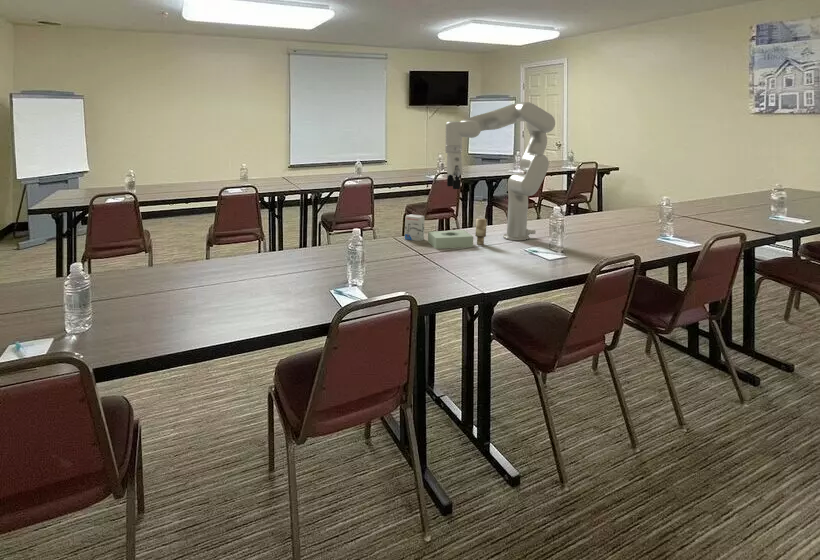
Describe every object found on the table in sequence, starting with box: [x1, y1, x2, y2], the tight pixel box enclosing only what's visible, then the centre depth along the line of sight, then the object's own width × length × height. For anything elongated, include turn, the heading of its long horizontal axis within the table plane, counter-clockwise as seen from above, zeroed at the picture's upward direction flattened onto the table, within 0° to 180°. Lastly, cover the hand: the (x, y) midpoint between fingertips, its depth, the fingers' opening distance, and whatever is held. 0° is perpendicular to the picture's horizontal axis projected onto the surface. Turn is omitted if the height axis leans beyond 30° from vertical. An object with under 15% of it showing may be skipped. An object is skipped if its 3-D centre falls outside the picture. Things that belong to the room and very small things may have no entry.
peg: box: [474, 217, 488, 246], centre depth 257 cm, size 5×5×12 cm
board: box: [427, 229, 474, 250], centre depth 258 cm, size 18×14×5 cm
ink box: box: [404, 213, 426, 242], centre depth 267 cm, size 9×5×12 cm, turn 62°
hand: (453, 187), depth 253 cm, fingers open, 9 cm apart
